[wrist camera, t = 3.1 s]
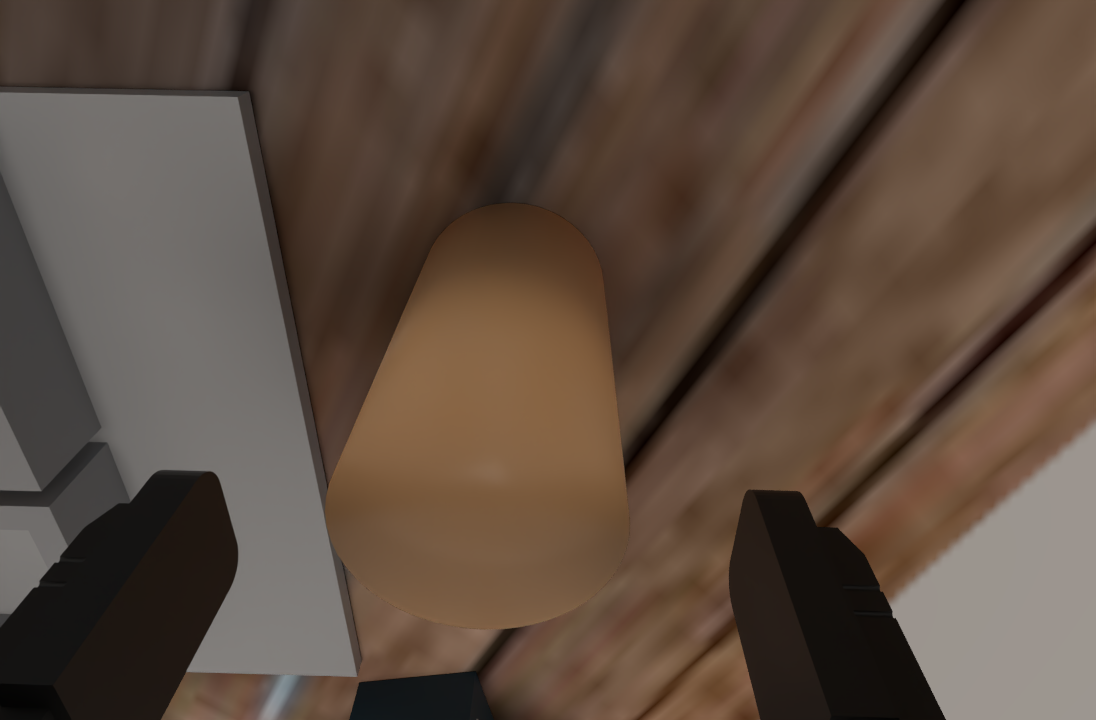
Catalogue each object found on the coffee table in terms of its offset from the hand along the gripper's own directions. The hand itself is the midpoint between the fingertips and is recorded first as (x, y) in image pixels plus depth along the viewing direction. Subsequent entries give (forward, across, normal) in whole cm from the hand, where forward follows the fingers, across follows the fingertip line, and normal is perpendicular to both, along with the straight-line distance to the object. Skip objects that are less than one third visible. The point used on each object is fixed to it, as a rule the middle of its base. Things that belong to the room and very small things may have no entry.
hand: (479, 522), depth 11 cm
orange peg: (+8, 0, 0) cm, 8 cm away
